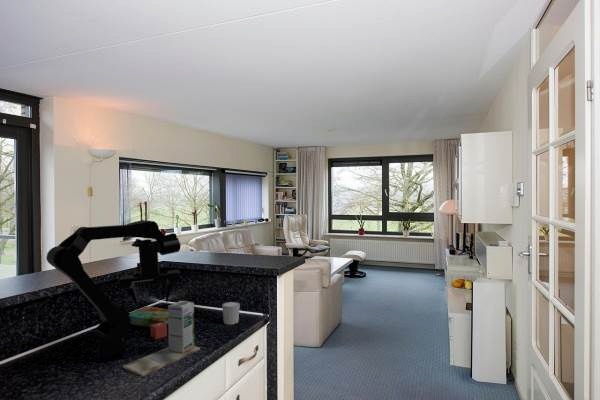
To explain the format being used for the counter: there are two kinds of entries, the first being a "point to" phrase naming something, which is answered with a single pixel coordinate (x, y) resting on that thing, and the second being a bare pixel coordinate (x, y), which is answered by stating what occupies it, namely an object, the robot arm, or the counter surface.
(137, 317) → the puzzle game
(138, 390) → the counter surface
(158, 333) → the red die
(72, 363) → the counter surface
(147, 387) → the counter surface
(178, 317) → the syrup box
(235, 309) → the shot glass
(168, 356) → the game board
